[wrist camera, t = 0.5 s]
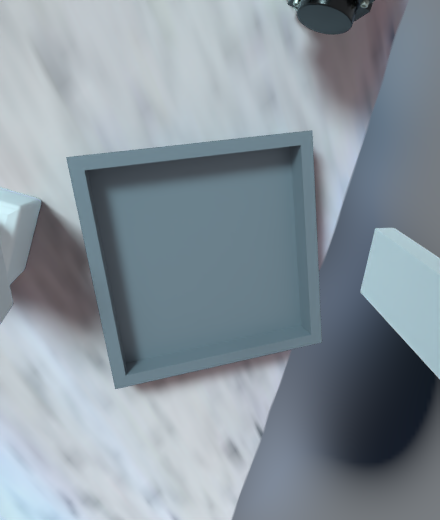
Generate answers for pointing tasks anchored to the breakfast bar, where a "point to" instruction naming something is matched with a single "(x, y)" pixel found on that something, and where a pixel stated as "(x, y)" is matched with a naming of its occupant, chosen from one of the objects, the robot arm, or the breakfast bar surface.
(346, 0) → the pneumatic valve
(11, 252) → the medicine bottle
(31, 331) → the breakfast bar surface
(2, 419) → the breakfast bar surface
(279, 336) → the tray
